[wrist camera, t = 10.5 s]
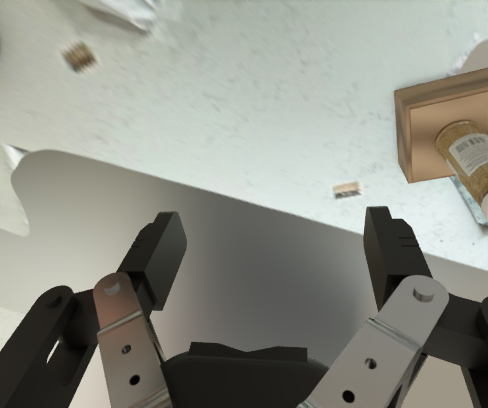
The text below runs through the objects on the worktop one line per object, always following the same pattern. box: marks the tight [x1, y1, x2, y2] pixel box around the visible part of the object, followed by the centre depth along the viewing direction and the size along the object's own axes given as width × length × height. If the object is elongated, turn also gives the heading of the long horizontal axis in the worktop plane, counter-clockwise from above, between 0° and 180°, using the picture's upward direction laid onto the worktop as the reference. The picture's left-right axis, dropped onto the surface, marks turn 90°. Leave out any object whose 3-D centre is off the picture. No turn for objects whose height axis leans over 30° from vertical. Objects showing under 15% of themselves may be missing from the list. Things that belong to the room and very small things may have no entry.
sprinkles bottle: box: [435, 121, 488, 221], centre depth 30 cm, size 5×5×13 cm
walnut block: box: [394, 68, 488, 184], centre depth 38 cm, size 10×10×5 cm
